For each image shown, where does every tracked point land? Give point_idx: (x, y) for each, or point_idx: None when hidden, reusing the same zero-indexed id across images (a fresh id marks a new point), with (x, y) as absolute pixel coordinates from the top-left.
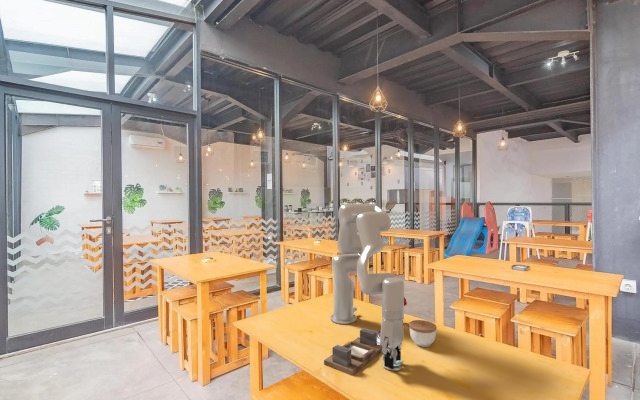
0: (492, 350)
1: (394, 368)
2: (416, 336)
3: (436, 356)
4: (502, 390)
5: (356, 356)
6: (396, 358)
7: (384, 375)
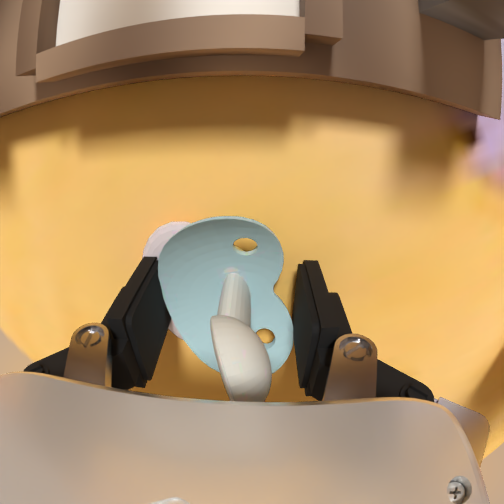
0: (497, 433)
1: (174, 324)
2: None
3: (457, 389)
4: None
5: (24, 23)
6: (297, 315)
7: (83, 281)
